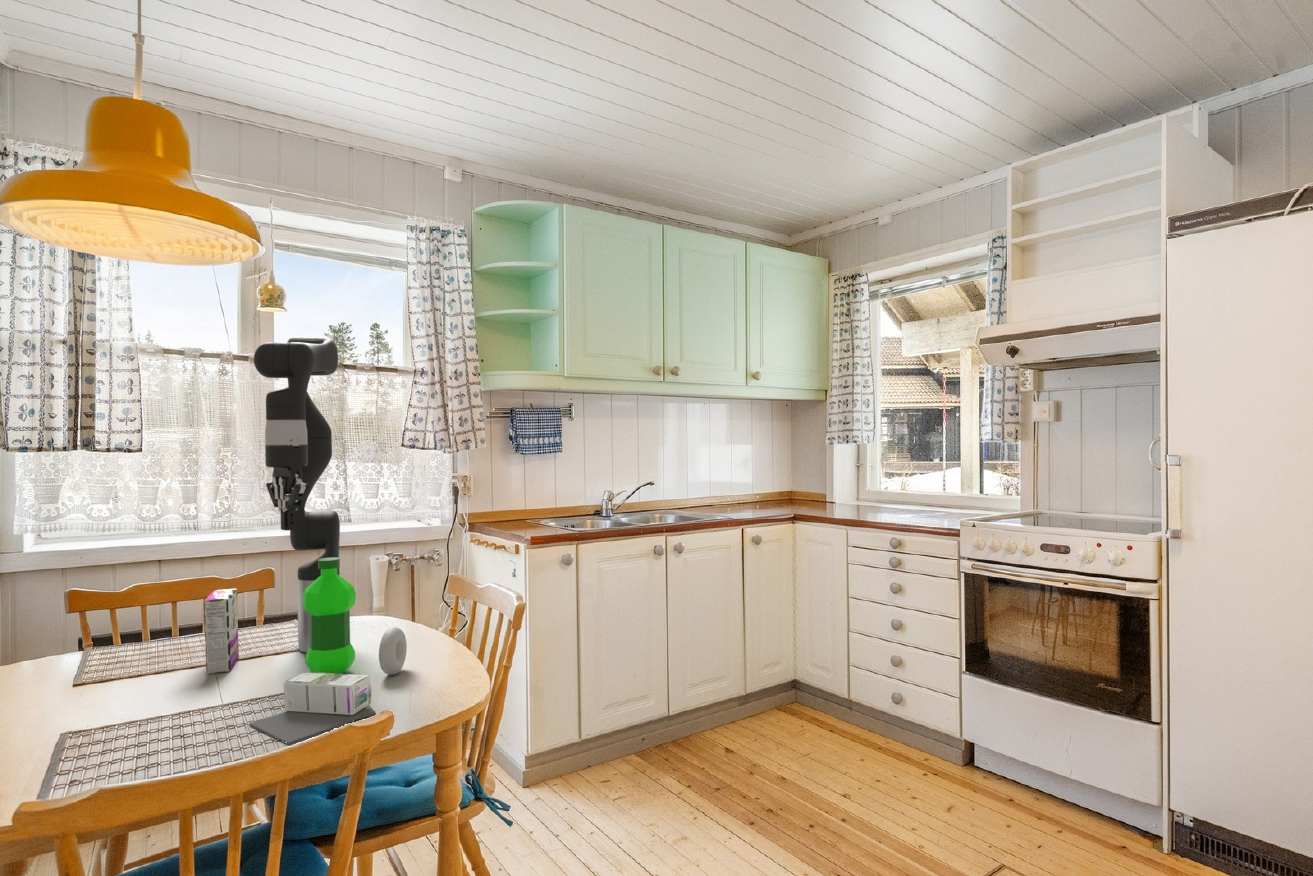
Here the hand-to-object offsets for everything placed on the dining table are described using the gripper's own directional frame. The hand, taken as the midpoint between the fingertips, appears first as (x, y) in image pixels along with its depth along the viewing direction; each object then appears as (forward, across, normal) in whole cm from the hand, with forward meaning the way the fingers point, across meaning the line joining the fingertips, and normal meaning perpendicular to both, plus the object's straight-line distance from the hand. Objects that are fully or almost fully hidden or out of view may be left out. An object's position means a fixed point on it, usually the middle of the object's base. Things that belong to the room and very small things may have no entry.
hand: (288, 529), depth 144 cm
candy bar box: (+33, -31, 0) cm, 45 cm away
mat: (+33, +16, -4) cm, 37 cm away
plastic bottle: (+33, -5, +11) cm, 35 cm away
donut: (+33, +6, +19) cm, 39 cm away
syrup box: (+30, +7, -3) cm, 31 cm away
